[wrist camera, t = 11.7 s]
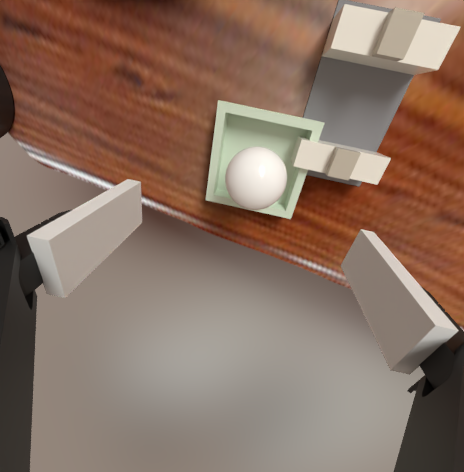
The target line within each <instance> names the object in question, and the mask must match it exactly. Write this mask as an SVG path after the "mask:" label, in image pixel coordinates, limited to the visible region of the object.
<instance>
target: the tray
mask: <svg viewBox="0 0 464 472" xmlns="http://www.w3.org/2000/svg"><path fill="white" fill-rule="evenodd" d="M324 124H325V123H324V122H320V121H316V120H311V119H306V118H301V117H297V116H292V115H287V114H283V113H278V112H273V111H268V110H264V109H259V108H254V107H249V106H245V105H240V104H235V103H230V102H226V101H220V100H218V106H217V114H216V122H215V129H214V137H213V145H212V153H211V161H210V169H209V177H208V184H207V192H206V200H207V201H212V202H216V203H221V204H225V205H230V206H234V207H239V208H243V207H241V206H240V205H238V204H237V203H236V202H235V201H234V200H233V199H232V198H231V197H230V195H229V193H228V191H227V188H226V184H225V174H226V169H227V166H228V164H229V162H230V161H231V159H232V158H233V157H234V156H235V155H236V154H237V153H238V152H240V151H241V150H243V149H245V148H248V147H253V146H261V147H266V148H268V149H271V150H272V151H274V152H275V153H276V154H278V155H279V157H280V158H281V159H282V161H283V162H284V164H285V167H286V171H287V184H286V188H285V190H284V192H283V194H282V196H281V197H280V198H279V200H278V201H277V202H275V203H274V204H273V205H271V206H269V207H267V208H265V209H260V210H252V211H257V212H261V213H266V214H270V215H275V216H279V217H284V218H288V219H291V217H292V214H293V211H294V209H295V206H296V203H297V200H298V197H299V194H300V192H301V189H302V186H303V183H304V180H305V177H306V175H307V172H308V169H303V168H298V167H294V166H293V165H292V162H291V158H292V154H293V151H294V148H295V145H296V141H297V138H298V136H301V137H306V138H307V139H308V140H311V141H315V142H318V141H319V138H320V135H321V132H322V129H323V126H324ZM243 209H246V208H243ZM248 210H250V209H248Z"/></svg>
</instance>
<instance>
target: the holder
mask: <svg viewBox="0 0 464 472" xmlns="http://www.w3.org/2000/svg"><path fill="white" fill-rule="evenodd" d="M424 14H425V13H421V12H416V11H411V10H406V9H401V8H396V7H395V8H394V9H389V8H384V7H379V6H374V5H369V4H364V3H359V2H353V1H348V0H339V1H338V4H337V7H336V11H335V14H334V17H333V21H332V24H331V27H330V30H329V34H328V37H327V40H326V44H325V47H324V50H323V53H322V57H321V60H320V63H319V67H318V70H317V73H316V76H315V80H314V83H313V86H312V89H311V93H310V96H309V99H308V103H307V106H306V109H305V112H304V116H303V118H306V119H311V120H316V121H320V122H324V123H325V124H324V126H323V129H322V132H321V135H320V138H319V141H318V142H315V141H311V140H308V139H307V138H306V137H301V136H298V138H297V141H296V145H295V148H294V151H293V154H292V158H291V162H292V165H293V166H294V167H298V168H303V169H308V172H307V175H309V176H313V177H318V178H323V179H327V180H332V181H336V182H341V183H346V184H350V185H355V186H360V184H361V182H362V181H363V182H368V183H372V184H378V182H379V181H380V179H381V177H382V175H383V173H384V171H385V169H386V167H387V165H388V164H389V162H390V160H391V158H389V157H387V156H384V155H382V154H379V153H377V149H378V147H379V145H380V143H381V141H382V139H383V137H384V135H385V133H386V131H387V129H388V127H389V125H390V123H391V121H392V119H393V117H394V115H395V113H396V111H397V109H398V107H399V104H400V102H401V100H402V98H403V96H404V94H405V92H406V90H407V88H408V86H409V84H410V82H411V80H412V78H413V76H414V75H416V74H421V73H426V72H430V71H435V70H438V69H439V67H440V65H441V63H442V61H443V60H444V58H445V56H446V54H447V52H448V50H449V48H450V46H451V44H452V43H453V41H454V39H455V37H456V35H457V33H458V31H459V29H460V27H458V26H453V25H448V24H443V23H440V21H441V19H439V18H434V17H429V16H424Z"/></svg>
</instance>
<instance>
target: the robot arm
mask: <svg viewBox="0 0 464 472" xmlns="http://www.w3.org/2000/svg"><path fill="white" fill-rule="evenodd" d="M13 116H14V105H13V98H12V94H11V90H10V87H9V84H8V81H7V79H6V76H5V74H4V72H3V70H2V68H1V66H0V138H1V137H2V136H4V135H5V134H6V133H7V132H8V131H9V129H10V127H11V125H12V122H13ZM141 223H142V203H141V182H139V181H135V180H130V179H127V180H126V181H124V182H122V183H120V184H118V185H117V186H115V187H113V188H111V189H109V190H108V191H106V192H104V193H102V194H101V195H99V196H97V197H95V198H93V199H91V200H90V201H88V202H86V203H85V204H82V205H81V206H79V207H77V208H75V209H74V210H68V211H65V212H61V213H58V214H57V215H55V216H53V217H51V218H49V220H45V221H43V222H42V223H41V224H38V225H36V226H34V227H32V228H30V229H28V230H27V231H25V232H23V233H21V234H19V235H17V236H16V237H14V235H13V232H12V229H11V227H10V224H9V222H8V220H7V219H5V218H3V217H0V472H30V449H31V425H32V401H33V400H32V399H33V376H34V355H35V331H36V306H37V295H36V292H35V289H36V288H37V287H39V286H40V285H41V284H42V283H43V285H44V287H45V290H46V293H47V294H50V295H54V296H59V297H63V298H66V297H67V296H68V295H69V294H70V293H71V292H72V291H73V290H74V289H75V288H76V287H77V286H78V285H79V284H80V283H81V282H82V281H83V280H84V279H85V278H86V277H87V276H88V275H89V274H90V273H91V272H92V271H93V270H94V269H95V268H96V267H98V266H99V265H100V264H101V263H102V262H103V261H104V260H105V259H106V258H107V257H108V256H109V255H110V254H111V253H112V252H113V251H114V250H115V249H116V248H117V247H118V246H119V245H120V244H121V243H122V242H123V241H124V240H125V239H126V238H127V237H128V236H129V235H130V234H131V233H132V232H133V231H134V230H135V229H136V228H137V227H138V226H139V225H140V224H141ZM341 268H342V270H343V272H344V274H345V276H346V278H347V280H348V282H349V284H350V287H351V289H352V291H353V293H354V295H355V297H356V299H357V301H358V303H359V305H360V307H361V310H362V312H363V314H364V316H365V318H366V320H367V322H368V324H369V326H370V328H371V330H372V333H373V335H374V337H375V339H376V341H377V343H378V345H379V347H380V349H381V351H382V354H383V356H384V358H385V360H386V362H387V364H388V366H389V368H390V370H392V371H396V372H401V373H406V374H411V373H412V372H413V371H414V370H415V369H416V368H418V367H419V366H420V367H421V368H422V370H423V372H424V373H425V376H423V377H422V378H421V379H420V380H419V381H418V382H416V383H415V384H414V385H413V386H411V387H410V388H409V390H408V391H409V392H410V393H412V392H413V391H416V394H415V398H414V401H413V405H412V408H411V412H410V415H409V419H408V423H407V426H406V430H405V433H404V437H403V440H402V444H401V448H400V452H399V455H398V458H397V462H396V465H395V469H394V472H464V331H463V330H462V329H461V328H460V327H459V326H458V325H457V323H456V322H455V321H454V320H453V319H452V318H451V317H450V315H449V314H448V313H447V312H445V310H444V309H443V307H442V306H441V305H440V304H438V302H437V301H436V300H435V298H434V297H433V296H432V295H431V294H430V293H429V292H428V291H426V290H425V289H424V288H423V287H421V286H420V285H419V284H418V283H417V282H416V280H415V279H414V278H413V277H412V276H411V275H410V274H409V272H408V271H407V270H406V269H405V268H404V267H403V265H402V264H401V263H400V262H399V261H398V260H397V258H396V257H395V256H394V255H393V254H392V253H391V251H390V250H389V249H388V248H387V247H386V246H385V245H384V243H383V242H382V241H381V240H380V239H379V238H378V236H377V235H376V234H375V233H374V232H371V231H366V230H362V229H361V230H360V232H359V233H358V235H357V237H356V239H355V241H354V243H353V244H352V246H351V248H350V250H349V252H348V253H347V255H346V257H345V259H344V261H343V262H342V264H341Z"/></svg>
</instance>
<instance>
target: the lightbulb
mask: <svg viewBox="0 0 464 472" xmlns="http://www.w3.org/2000/svg"><path fill="white" fill-rule="evenodd" d="M225 184H226V188H227V191H228V193H229V195H230V197H231V198H232V199H233V200H234V201H235V202H236V203H237V204H238V205H240V206H241V207H243V208H246V209H250V210H260V209H265V208H267V207H269V206H271V205H273V204H274V203H275V202H277V201H278V200H279V198H280V197H281V196H282V194H283V192H284V190H285V188H286V184H287V171H286V167H285V164H284V162H283V161H282V159H281V158H280V157H279V155H278V154H276V153H275V152H274V151H272V150H271V149H268V148H266V147H261V146H253V147H248V148H245V149H243V150H241V151H240V152H238V153H237V154H236V155H235V156H234V157H233V158H232V159H231V161H230V162H229V164H228V166H227V169H226V174H225Z"/></svg>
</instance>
